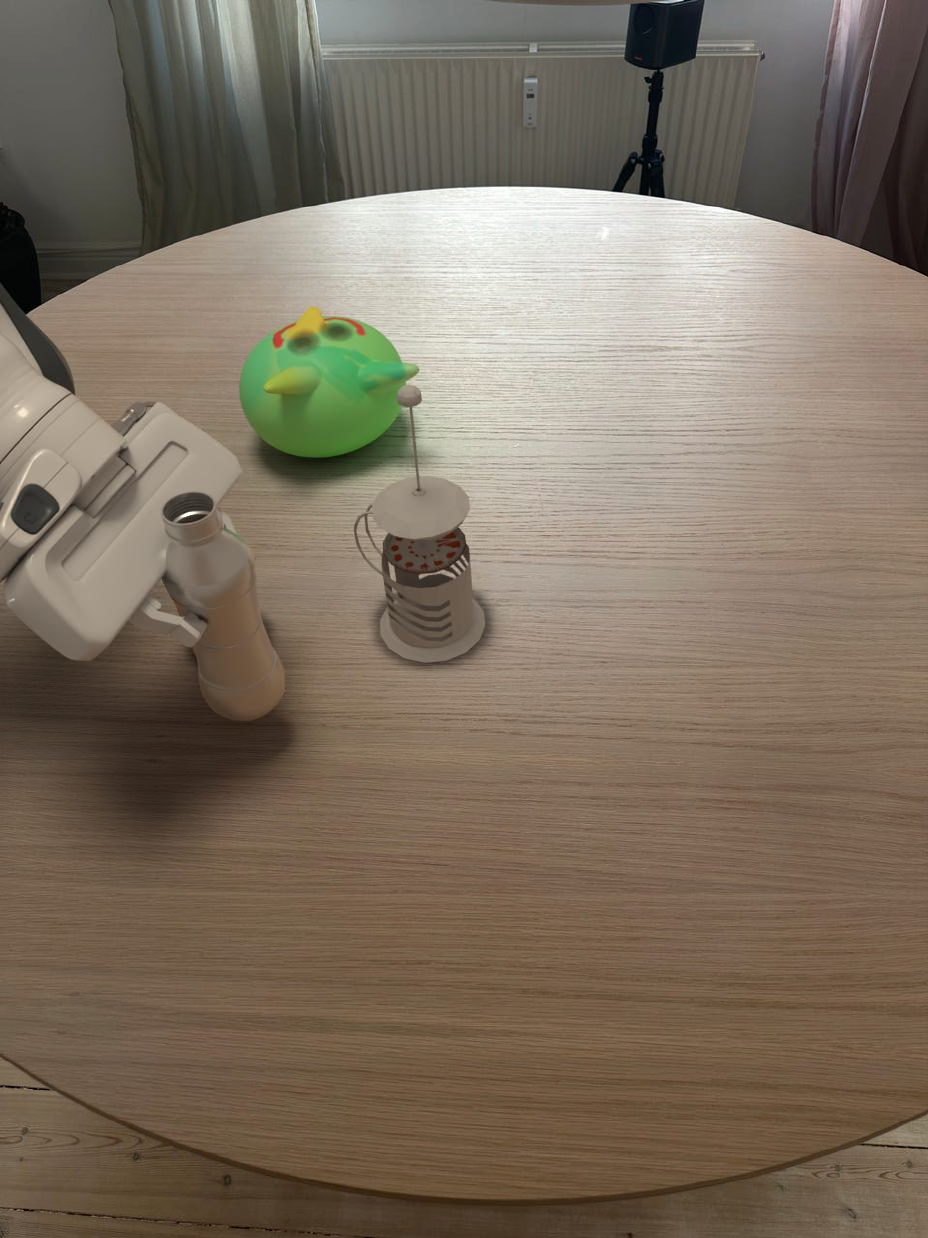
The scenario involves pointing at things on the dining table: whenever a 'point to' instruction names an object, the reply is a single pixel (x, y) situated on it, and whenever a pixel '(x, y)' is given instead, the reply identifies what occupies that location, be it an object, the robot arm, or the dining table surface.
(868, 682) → the dining table surface
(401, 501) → the french press
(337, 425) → the toy bird
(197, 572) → the plastic bottle
